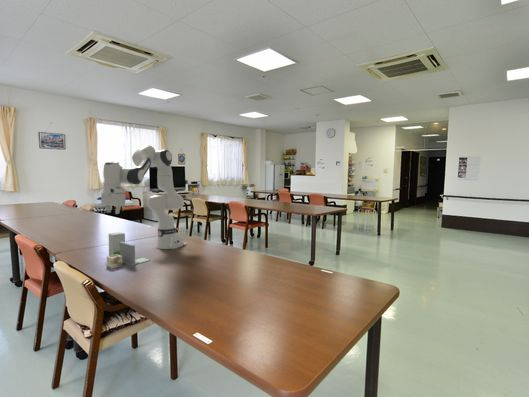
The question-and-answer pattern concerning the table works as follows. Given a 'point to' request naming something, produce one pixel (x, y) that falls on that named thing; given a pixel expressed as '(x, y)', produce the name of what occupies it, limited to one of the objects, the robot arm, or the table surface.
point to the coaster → (142, 260)
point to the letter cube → (114, 261)
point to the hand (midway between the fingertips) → (113, 213)
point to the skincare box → (115, 242)
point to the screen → (127, 253)
